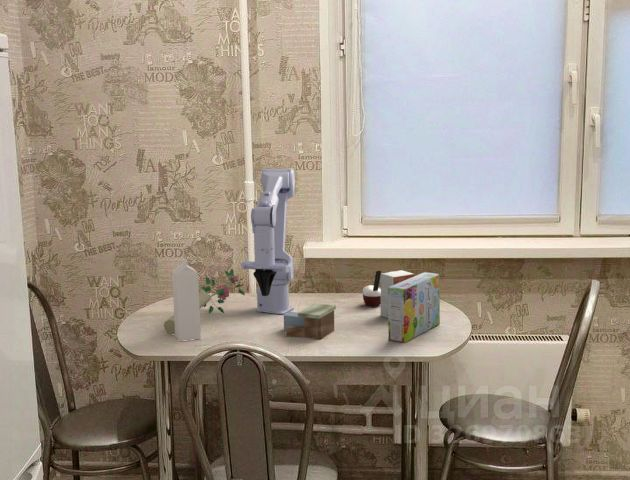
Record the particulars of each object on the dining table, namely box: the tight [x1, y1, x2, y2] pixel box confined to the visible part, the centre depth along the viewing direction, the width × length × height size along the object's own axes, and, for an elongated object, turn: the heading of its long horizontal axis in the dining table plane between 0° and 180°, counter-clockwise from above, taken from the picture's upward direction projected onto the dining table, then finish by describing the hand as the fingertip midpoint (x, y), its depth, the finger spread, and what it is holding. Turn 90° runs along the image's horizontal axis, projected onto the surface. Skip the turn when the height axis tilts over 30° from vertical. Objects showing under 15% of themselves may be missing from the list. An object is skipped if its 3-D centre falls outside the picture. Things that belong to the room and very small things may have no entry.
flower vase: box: [163, 267, 246, 335], centre depth 236 cm, size 12×12×35 cm
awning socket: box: [285, 302, 337, 340], centre depth 221 cm, size 10×12×7 cm
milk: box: [171, 257, 202, 342], centre depth 217 cm, size 6×6×22 cm
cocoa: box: [362, 270, 382, 308], centre depth 248 cm, size 10×6×12 cm, turn 177°
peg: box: [283, 311, 305, 333], centre depth 222 cm, size 10×4×5 cm, turn 67°
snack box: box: [387, 271, 441, 343], centre depth 220 cm, size 21×6×15 cm, turn 145°
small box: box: [380, 269, 415, 318], centre depth 237 cm, size 8×6×13 cm
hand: (265, 295), depth 226 cm, fingers closed
